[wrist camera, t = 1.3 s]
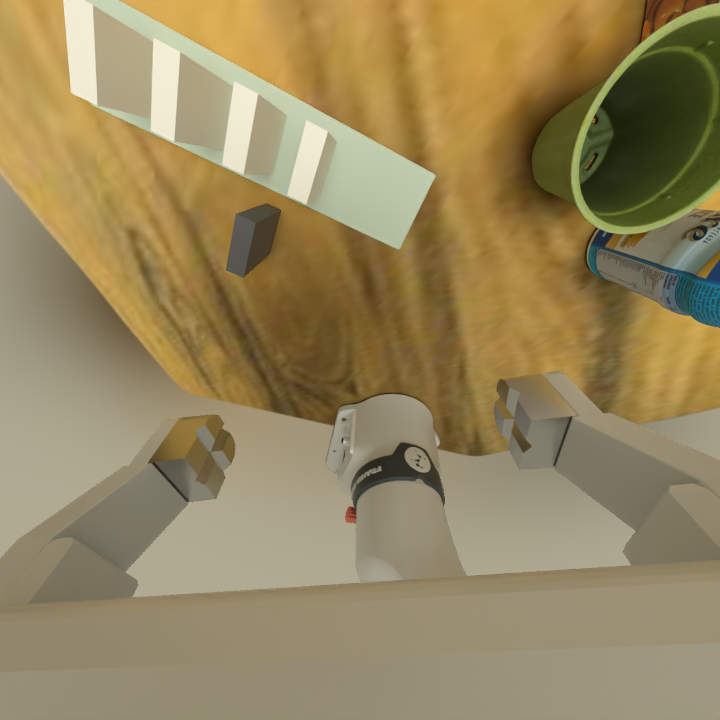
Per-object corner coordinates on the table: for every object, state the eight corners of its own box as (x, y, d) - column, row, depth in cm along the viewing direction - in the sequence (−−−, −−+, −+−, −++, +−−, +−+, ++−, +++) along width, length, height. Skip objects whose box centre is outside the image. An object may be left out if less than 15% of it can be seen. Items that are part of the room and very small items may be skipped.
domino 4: (320, 196, 31) (306, 204, 23) (305, 189, 30) (286, 195, 23) (337, 141, 28) (328, 131, 21) (321, 133, 28) (306, 119, 20)
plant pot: (517, 77, 26) (610, 14, 16) (656, 62, 25) (838, -12, 16) (495, 223, 32) (553, 241, 22) (606, 213, 31) (715, 227, 22)
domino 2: (223, 149, 28) (174, 141, 21) (207, 141, 28) (150, 130, 21) (233, 86, 26) (180, 51, 18) (214, 76, 26) (153, 37, 18)
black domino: (269, 253, 34) (243, 277, 27) (256, 248, 34) (226, 270, 26) (280, 210, 32) (255, 222, 24) (266, 203, 31) (236, 213, 24)
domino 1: (170, 123, 27) (97, 105, 20) (152, 114, 27) (71, 93, 20) (174, 54, 25) (92, 4, 17) (154, 44, 25) (62, -12, 17)
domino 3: (273, 173, 30) (243, 174, 22) (258, 166, 29) (222, 164, 22) (287, 115, 27) (258, 93, 20) (270, 106, 27) (234, 80, 19)
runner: (399, 249, 34) (399, 250, 34) (92, 105, 27) (91, 104, 27) (435, 175, 30) (435, 175, 30) (86, -18, 23) (84, -19, 23)
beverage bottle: (570, 277, 35) (757, 374, 19) (603, 199, 31) (890, 233, 14) (639, 279, 35) (887, 375, 19) (682, 200, 31) (1063, 235, 14)
